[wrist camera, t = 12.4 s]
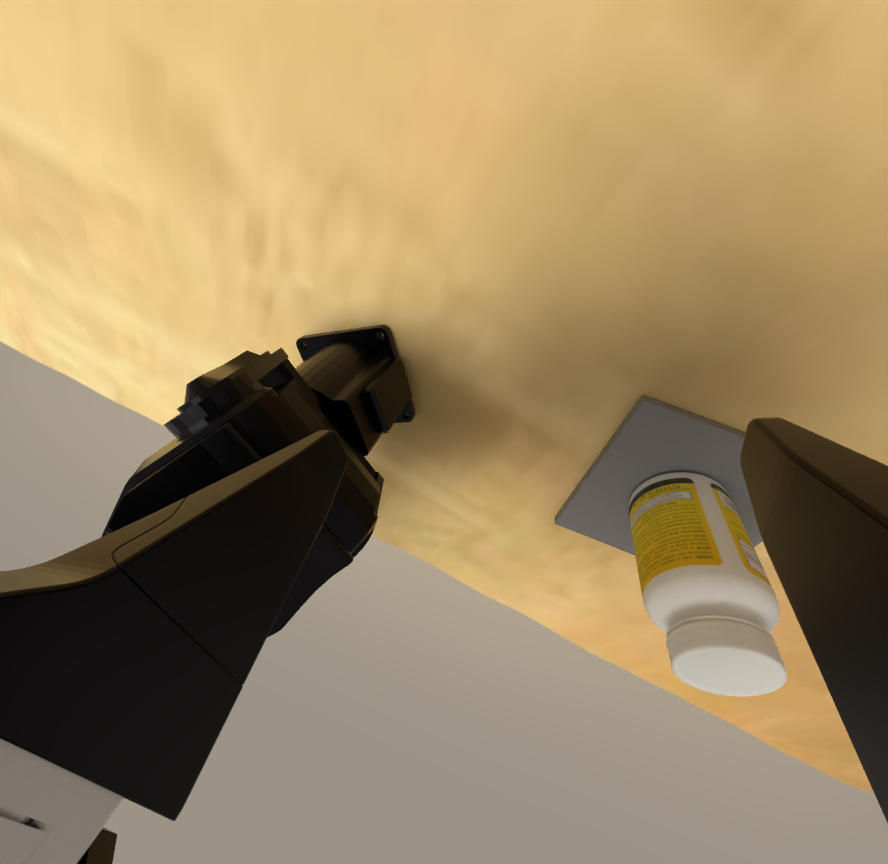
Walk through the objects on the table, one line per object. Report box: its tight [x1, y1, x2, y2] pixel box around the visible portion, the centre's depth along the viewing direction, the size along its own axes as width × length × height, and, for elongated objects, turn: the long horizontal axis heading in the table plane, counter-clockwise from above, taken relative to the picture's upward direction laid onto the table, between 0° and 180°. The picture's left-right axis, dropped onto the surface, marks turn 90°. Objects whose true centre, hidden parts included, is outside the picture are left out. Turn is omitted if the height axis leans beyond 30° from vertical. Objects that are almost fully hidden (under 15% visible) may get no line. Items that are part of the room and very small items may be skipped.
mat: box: [555, 395, 763, 555], centre depth 23 cm, size 11×11×1 cm
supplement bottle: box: [629, 472, 787, 696], centre depth 19 cm, size 5×5×10 cm
